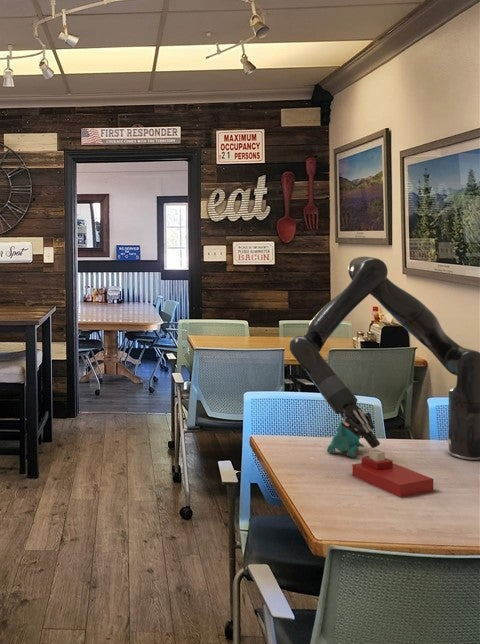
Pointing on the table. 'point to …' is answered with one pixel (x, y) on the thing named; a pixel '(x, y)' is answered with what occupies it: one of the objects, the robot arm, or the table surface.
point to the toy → (345, 442)
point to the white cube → (377, 455)
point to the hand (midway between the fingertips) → (376, 446)
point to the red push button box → (392, 477)
